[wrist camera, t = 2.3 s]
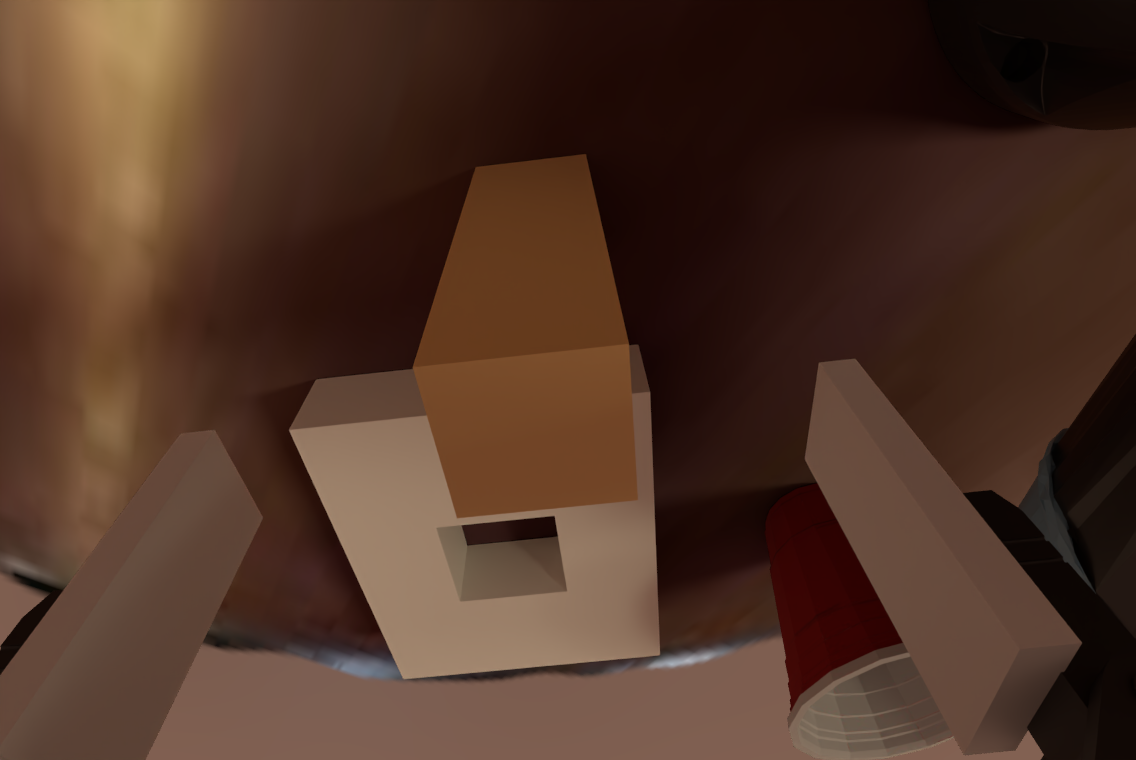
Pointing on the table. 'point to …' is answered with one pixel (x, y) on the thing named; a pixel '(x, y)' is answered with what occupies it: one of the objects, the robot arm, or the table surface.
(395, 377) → the socket plate
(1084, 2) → the robot arm
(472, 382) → the plug block
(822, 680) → the plastic cup
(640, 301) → the table surface
